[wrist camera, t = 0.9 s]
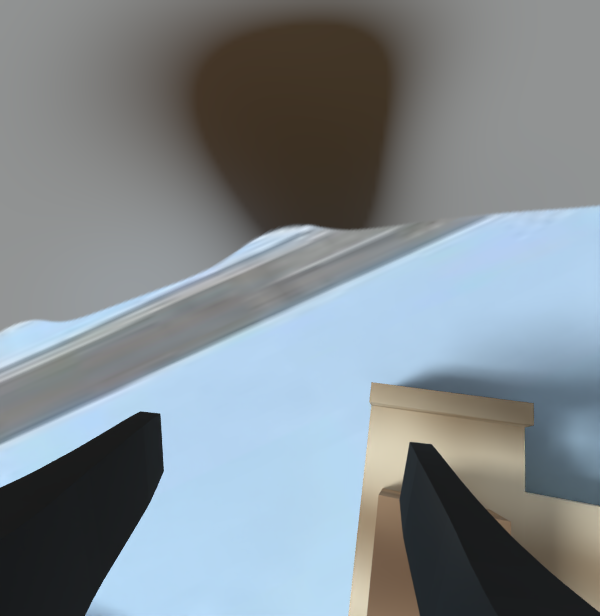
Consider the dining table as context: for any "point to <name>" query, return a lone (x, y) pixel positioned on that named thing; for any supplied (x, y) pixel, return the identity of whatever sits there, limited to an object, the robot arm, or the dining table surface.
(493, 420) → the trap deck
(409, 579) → the walnut block
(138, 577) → the dining table surface
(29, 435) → the dining table surface
